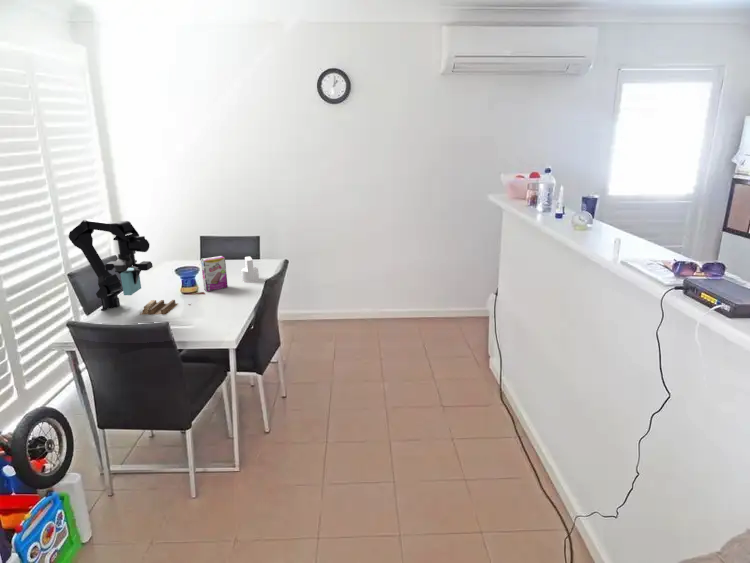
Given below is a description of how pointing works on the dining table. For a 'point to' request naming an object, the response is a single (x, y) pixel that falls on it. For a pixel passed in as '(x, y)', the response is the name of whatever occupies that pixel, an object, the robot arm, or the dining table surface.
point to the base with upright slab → (249, 271)
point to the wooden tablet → (196, 294)
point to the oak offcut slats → (149, 306)
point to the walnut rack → (161, 308)
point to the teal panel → (129, 282)
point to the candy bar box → (214, 273)
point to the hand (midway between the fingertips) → (131, 284)
